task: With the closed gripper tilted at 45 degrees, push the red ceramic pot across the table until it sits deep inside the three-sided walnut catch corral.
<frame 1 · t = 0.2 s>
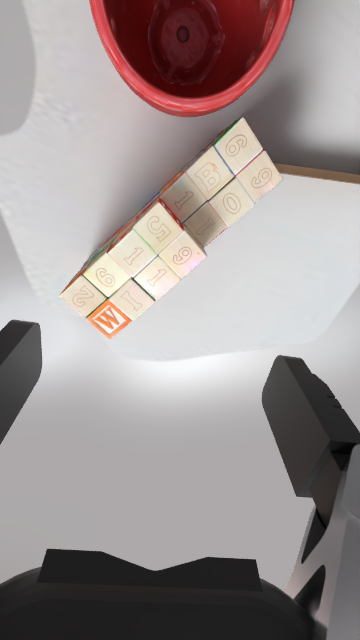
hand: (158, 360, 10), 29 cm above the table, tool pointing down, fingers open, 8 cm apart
catch corral: (342, 76, 30), on the table
plant pot: (182, 49, 29), on the table
stack of blocks: (167, 219, 36), on the table
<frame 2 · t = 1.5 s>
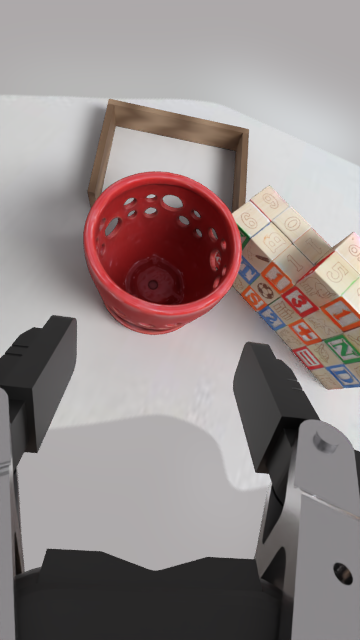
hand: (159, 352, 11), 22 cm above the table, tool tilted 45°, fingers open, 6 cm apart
catch corral: (171, 177, 40), on the table
plant pot: (156, 291, 35), on the table
stack of blocks: (280, 308, 37), on the table
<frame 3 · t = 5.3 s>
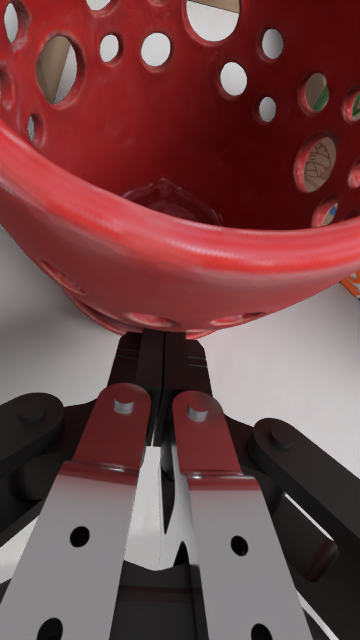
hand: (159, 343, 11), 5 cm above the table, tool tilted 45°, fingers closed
catch corral: (190, 60, 22), on the table
plant pot: (166, 256, 18), on the table, touching gripper
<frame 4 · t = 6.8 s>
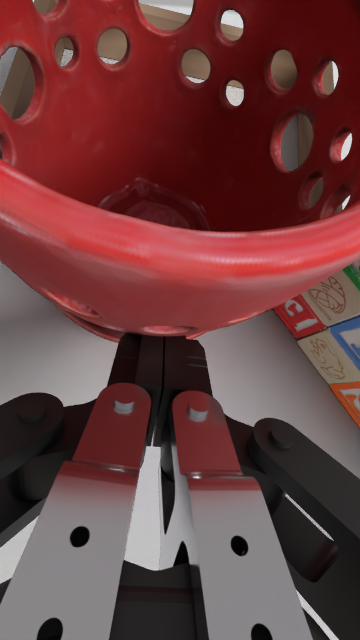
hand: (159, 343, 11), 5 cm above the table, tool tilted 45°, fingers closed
catch corral: (176, 149, 20), on the table
plant pot: (155, 256, 18), on the table, touching gripper
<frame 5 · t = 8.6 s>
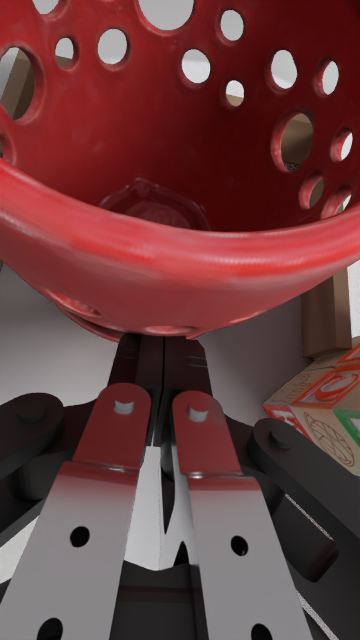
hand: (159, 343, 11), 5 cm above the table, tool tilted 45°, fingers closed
catch corral: (168, 227, 18), on the table
plant pot: (155, 256, 18), on the table, touching gripper
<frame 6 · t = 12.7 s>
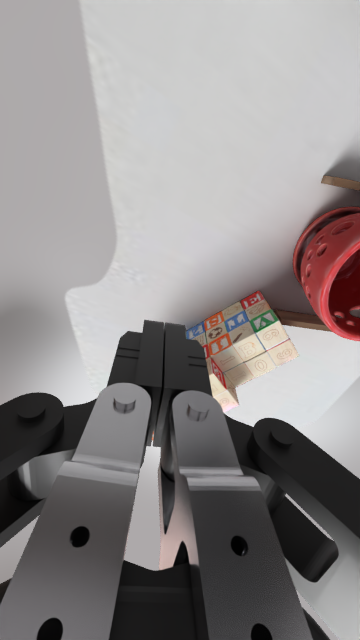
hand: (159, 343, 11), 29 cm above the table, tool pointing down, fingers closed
catch corral: (343, 260, 40), on the table
plant pot: (330, 253, 40), on the table
stack of blocks: (204, 339, 46), on the table
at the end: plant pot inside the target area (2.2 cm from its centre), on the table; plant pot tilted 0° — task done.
